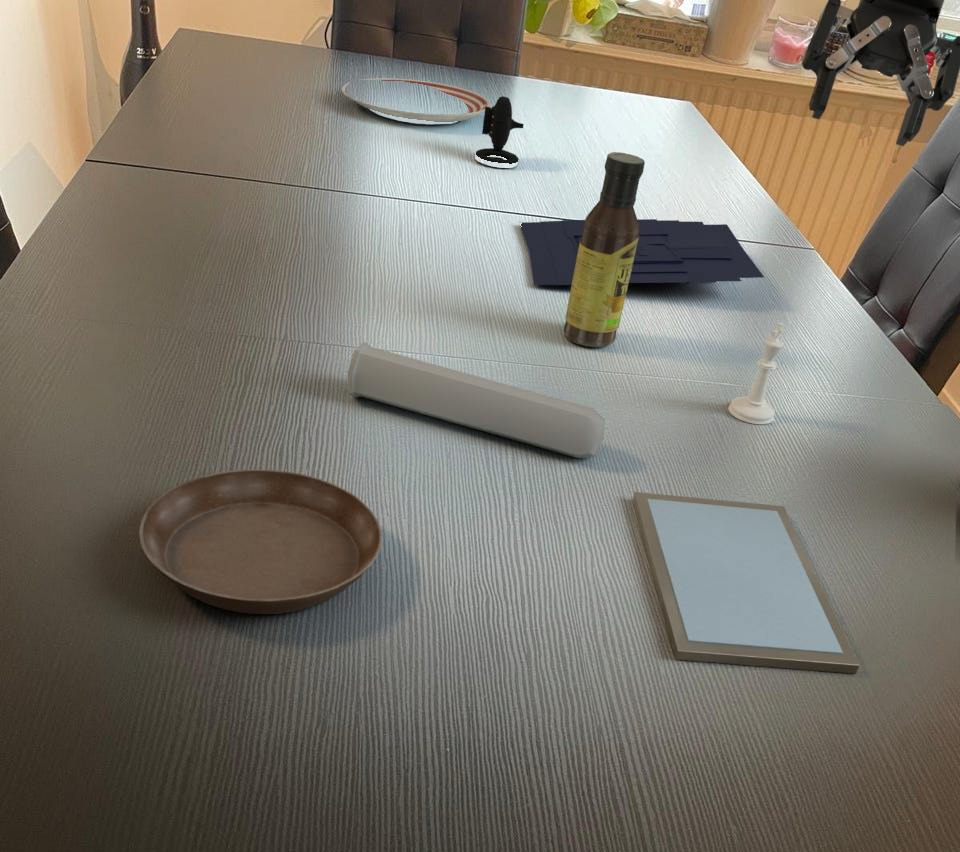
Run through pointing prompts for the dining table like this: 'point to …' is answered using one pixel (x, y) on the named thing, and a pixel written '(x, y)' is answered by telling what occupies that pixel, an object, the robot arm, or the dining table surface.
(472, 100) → the dinner plate
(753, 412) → the chess piece
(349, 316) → the dining table surface
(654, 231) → the papers
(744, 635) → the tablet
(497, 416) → the tube
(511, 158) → the webcam
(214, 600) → the plant saucer
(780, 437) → the dining table surface
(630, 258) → the sauce bottle
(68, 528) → the dining table surface
